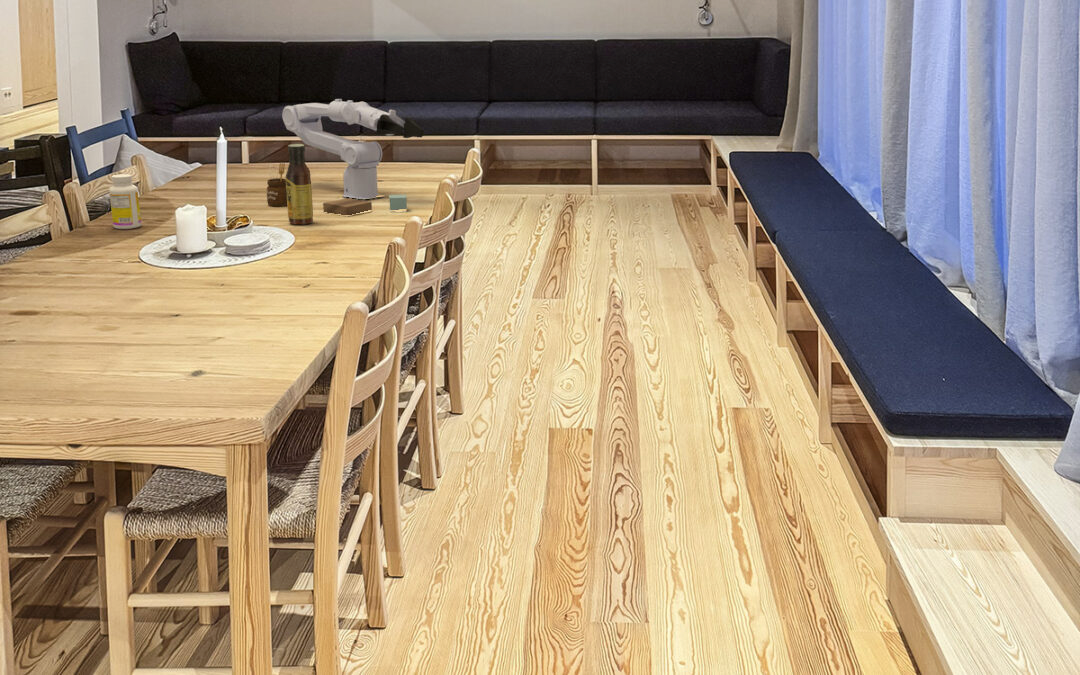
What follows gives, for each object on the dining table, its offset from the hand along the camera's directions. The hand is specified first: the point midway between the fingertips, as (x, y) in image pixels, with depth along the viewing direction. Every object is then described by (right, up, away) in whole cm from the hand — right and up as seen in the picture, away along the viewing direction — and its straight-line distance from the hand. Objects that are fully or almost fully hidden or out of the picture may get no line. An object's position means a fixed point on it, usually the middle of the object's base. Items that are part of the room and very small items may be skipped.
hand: (412, 132), depth 298 cm
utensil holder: (-38, -19, +7) cm, 43 cm away
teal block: (-4, -21, 0) cm, 21 cm away
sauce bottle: (-26, -26, -17) cm, 41 cm away
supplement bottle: (-68, -28, -22) cm, 77 cm away
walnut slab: (-17, -22, -2) cm, 28 cm away
